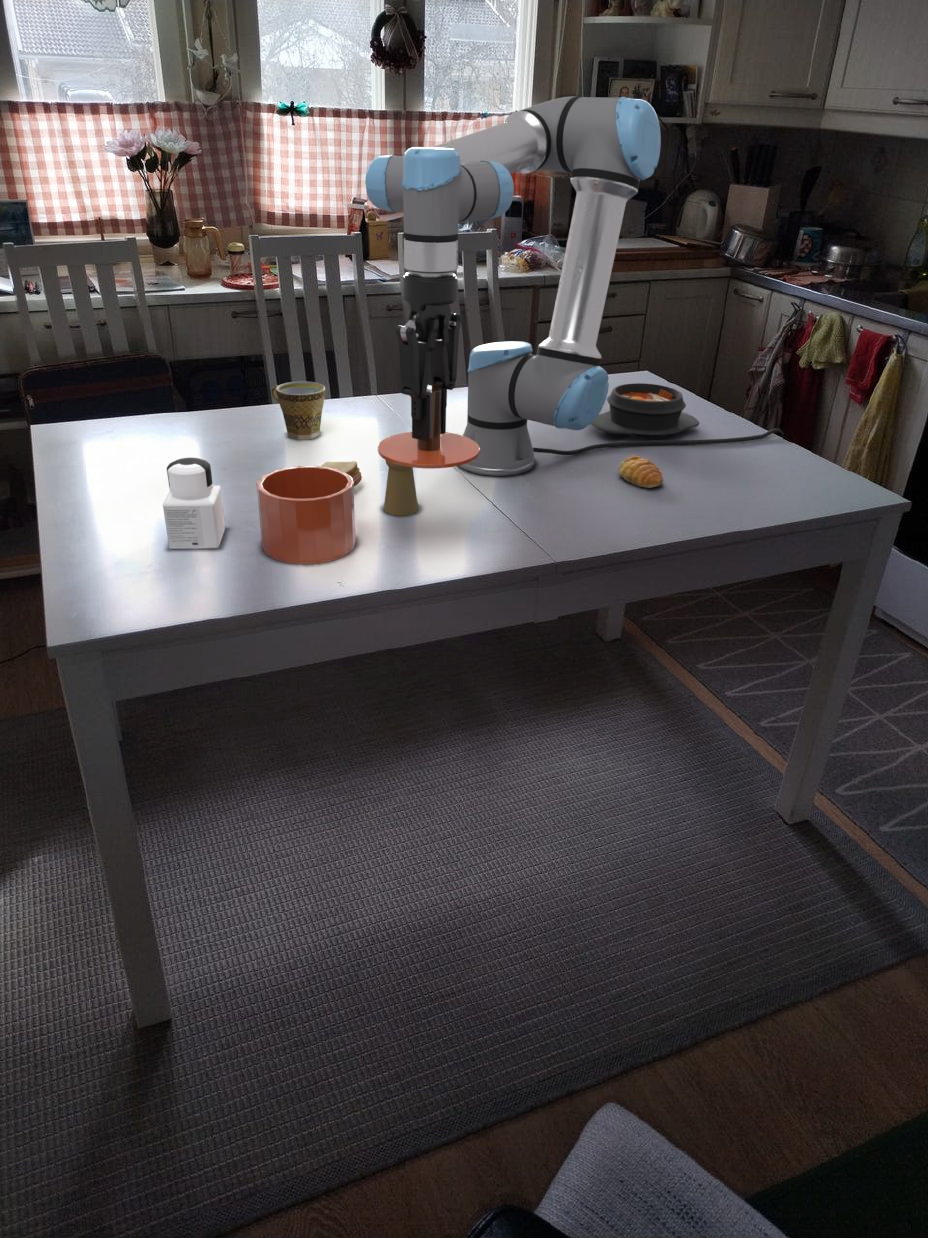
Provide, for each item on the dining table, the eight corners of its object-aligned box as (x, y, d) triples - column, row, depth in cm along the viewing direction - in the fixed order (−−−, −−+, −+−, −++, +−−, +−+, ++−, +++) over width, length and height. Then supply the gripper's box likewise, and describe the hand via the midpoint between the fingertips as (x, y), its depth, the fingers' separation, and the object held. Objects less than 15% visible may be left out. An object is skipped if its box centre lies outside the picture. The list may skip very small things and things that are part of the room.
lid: (481, 440, 147) (483, 376, 142) (477, 474, 134) (480, 405, 129) (384, 436, 148) (383, 372, 143) (371, 470, 134) (369, 401, 129)
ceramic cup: (337, 433, 195) (335, 386, 190) (306, 445, 188) (302, 397, 183) (290, 421, 201) (287, 376, 196) (258, 433, 194) (254, 386, 189)
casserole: (671, 413, 214) (676, 377, 210) (714, 438, 199) (721, 400, 195) (573, 421, 207) (576, 384, 202) (610, 448, 191) (615, 408, 187)
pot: (361, 527, 153) (359, 467, 148) (347, 566, 141) (344, 502, 135) (274, 523, 154) (269, 463, 149) (252, 562, 141) (246, 498, 136)
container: (177, 529, 151) (167, 453, 144) (225, 528, 151) (217, 453, 145) (168, 549, 144) (157, 471, 138) (219, 549, 145) (209, 470, 138)
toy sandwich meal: (311, 471, 175) (310, 447, 173) (372, 484, 170) (371, 460, 168) (271, 492, 165) (269, 467, 163) (334, 507, 160) (333, 482, 158)
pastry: (671, 487, 173) (674, 468, 171) (641, 492, 170) (644, 473, 168) (642, 470, 180) (644, 452, 178) (613, 475, 178) (615, 456, 176)
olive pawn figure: (413, 517, 158) (413, 455, 152) (379, 513, 159) (378, 452, 153) (421, 503, 163) (422, 444, 157) (388, 500, 164) (388, 440, 158)
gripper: (441, 262, 136) (439, 417, 147) (372, 276, 123) (375, 444, 135) (484, 267, 132) (479, 426, 144) (417, 283, 120) (417, 455, 131)
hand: (429, 434), depth 139 cm, fingers closed on lid, 4 cm apart
